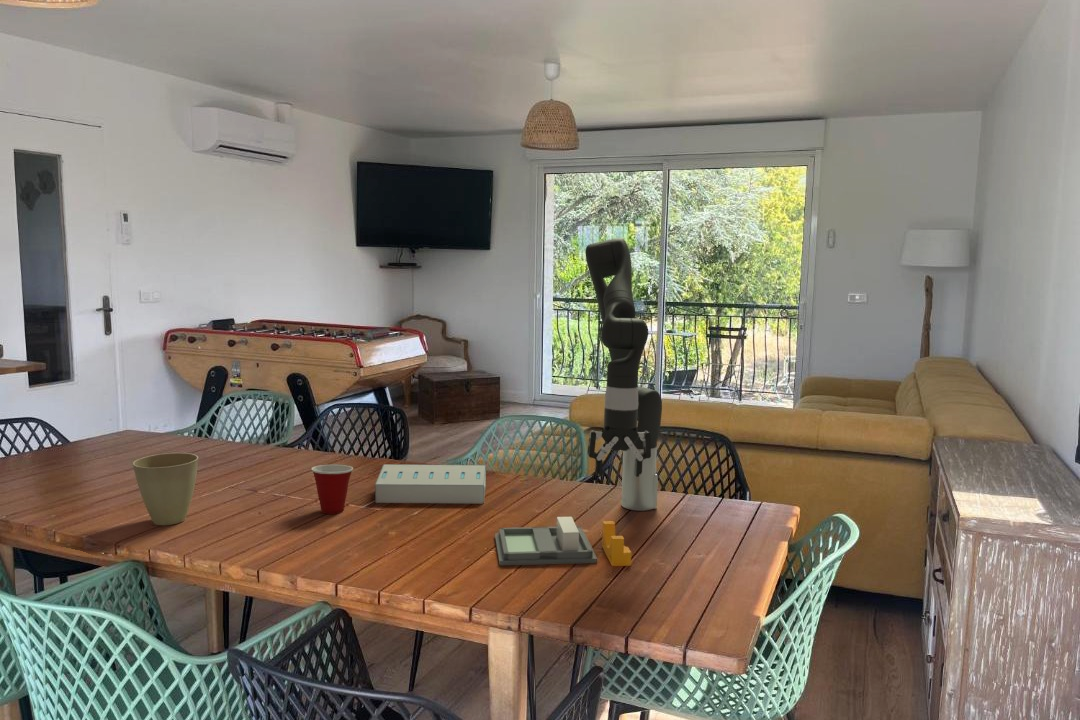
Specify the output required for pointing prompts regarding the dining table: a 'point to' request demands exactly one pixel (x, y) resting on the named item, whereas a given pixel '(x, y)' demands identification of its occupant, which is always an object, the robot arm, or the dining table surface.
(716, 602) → the dining table surface
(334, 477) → the plastic cup
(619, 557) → the orange stepped block
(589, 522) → the dining table surface
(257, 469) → the dining table surface
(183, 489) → the plant pot
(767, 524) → the dining table surface
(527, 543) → the dock
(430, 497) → the warehouse
